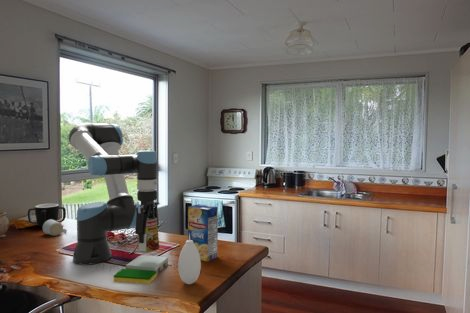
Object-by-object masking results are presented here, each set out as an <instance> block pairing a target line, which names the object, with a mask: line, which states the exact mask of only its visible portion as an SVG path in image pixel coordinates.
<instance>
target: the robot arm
mask: <svg viewBox="0 0 470 313" xmlns="http://www.w3.org/2000/svg"><path fill="white" fill-rule="evenodd" d="M120 127H121V126H119V125H118V124H116V123H109V122H107V123H100V122H99V123H97V122H96V123H95V122H93V123H92V122H83V123H79V124H77V125H76V126H75V125H74V127H73V128H72V129H71V130H70V131H69V134H68V142H69V144H70V145H71V146H72V147H73V148H74V149H75V150H77V151H79V152H80V153H81V155H82V156H83V157H84V158H85V159H86V160H87V168H88V169H87V170H88V172H89V174H90V175H92V176H101V177H102V176H103V177H104V180H105V184H106V188H107V189H106V190H107V193H108V198H109V199H108V200H107V202H105V201H95V202H90V203H89V202H88V203H86V204H82V205H81V206H79V207H78V209H77V211H76V219H75V220H76V235H77V236H76V238H77V239H76V241H77V242H76V244H75V248H74V251H73V254H72V262H73V263H75V264H78V265H96V264H100V263H103V262H106V261H107V260H108V261H109V260H110V259H111V258H112V250H111V247H110V244H109V242H108V239H107V238H108V237H107V236H108V235H107V234H108V232H115V231H123V230H129V229H132V228H135V235H138V234H139V246H138V252H139V251H146V234H145V230H146V221H147V218H154V217H155V218H157V225H158V226H159V212H158V206H159V204H158V201H157V200H158V190H157V189H158V157H157V156H158V154H157V152H156V151H155V150H138V151H137V152H136V154H135V153H133V154H123V155H122V154H120V152H119V151H120V149H121V146H123V143H124V138H123V137H124V135H123V132H122V129H121V128H120ZM125 174H136V180H137V181H136V182H137V183H136V184H137V185H136V188H137V190H138V191H137V193H136V196H137V198H136V199H137V200H134V197H133V196H132V195H131V194H129V191H128V185H127V182H126V178H125ZM110 257H111V258H110ZM109 258H110V259H109Z"/></svg>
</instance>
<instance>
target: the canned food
mask: <svg viewBox="0 0 470 313" xmlns="http://www.w3.org/2000/svg"><path fill="white" fill-rule="evenodd" d="M145 234H146V251H139V250H138V252H139V253H141V254H143V253H145V254H146V253H153V252H156V251H158V250H159V249H160V243H159V242H160V238H159V225H157V218H155V217H154V218H147V221H146V230H145ZM137 243H138V244H137V246H138V247H139V234H137Z"/></svg>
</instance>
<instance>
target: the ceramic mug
mask: <svg viewBox="0 0 470 313" xmlns="http://www.w3.org/2000/svg"><path fill="white" fill-rule="evenodd" d="M67 230H68V229H66V228H64V226H63V224H62V222H57V221H55V220H52V219H50V220H47V221H46V222H45V223H44V224H43V227H42V231H43V233H45V234H46V235H50V236H51V237H52V236H54V237H56V236H59V235H61V234H62V233H64V234H65V233H67Z"/></svg>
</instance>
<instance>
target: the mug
mask: <svg viewBox="0 0 470 313" xmlns="http://www.w3.org/2000/svg"><path fill="white" fill-rule="evenodd" d="M60 210H62V218H61V219H58V218H59V211H60ZM32 211H34V213H35V220H33V219H32ZM66 212H67V209H66V207H63V206H60V205H59V203H42V204H37V205H35V206H34V207H33V208H29V209H28V210H27V219H28V222H29V223H30V224H35V225H36V224H37V226H38V227H39V228H43V224H44V223H45V222H46V221H47V220H50V219H52V220H55V221H57V222H59V223H62V222H64V221H65V220H66V217H67V216H66V215H67V213H66Z"/></svg>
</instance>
